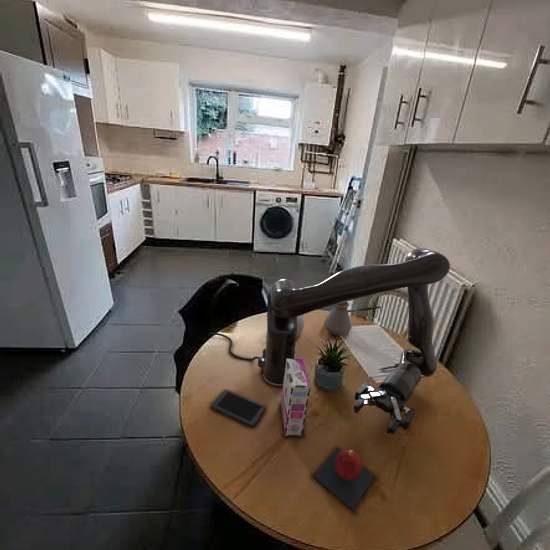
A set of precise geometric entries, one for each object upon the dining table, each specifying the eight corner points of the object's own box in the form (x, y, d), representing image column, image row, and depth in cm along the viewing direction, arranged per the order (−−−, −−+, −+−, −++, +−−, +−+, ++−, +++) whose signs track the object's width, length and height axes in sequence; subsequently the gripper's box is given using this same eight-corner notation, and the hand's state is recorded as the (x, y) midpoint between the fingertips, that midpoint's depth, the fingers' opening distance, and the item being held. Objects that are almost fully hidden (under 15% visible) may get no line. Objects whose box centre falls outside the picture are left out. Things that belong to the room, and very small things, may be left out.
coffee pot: (320, 333, 126) (325, 301, 121) (325, 320, 136) (330, 290, 131) (374, 347, 121) (382, 313, 115) (375, 332, 131) (382, 300, 125)
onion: (358, 491, 68) (365, 467, 65) (332, 485, 69) (337, 460, 66) (357, 467, 73) (363, 443, 70) (332, 461, 74) (338, 437, 71)
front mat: (313, 477, 71) (314, 476, 70) (336, 449, 78) (337, 448, 78) (353, 510, 65) (353, 509, 64) (373, 477, 72) (374, 476, 72)
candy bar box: (303, 436, 80) (311, 387, 74) (284, 436, 80) (290, 387, 74) (297, 403, 91) (303, 357, 84) (280, 403, 90) (285, 357, 84)
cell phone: (224, 390, 93) (224, 388, 93) (265, 408, 88) (266, 406, 88) (210, 407, 87) (210, 405, 87) (253, 427, 82) (253, 425, 81)
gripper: (376, 364, 89) (348, 392, 78) (427, 390, 81) (404, 426, 69) (371, 384, 92) (343, 414, 81) (420, 412, 84) (396, 450, 72)
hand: (371, 420), depth 75 cm, fingers open, 8 cm apart
